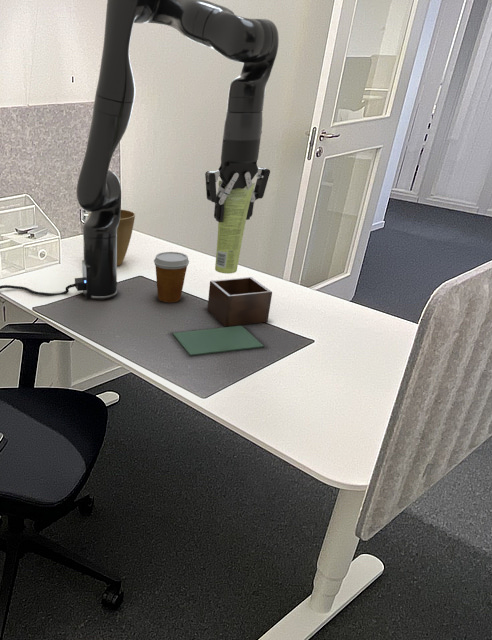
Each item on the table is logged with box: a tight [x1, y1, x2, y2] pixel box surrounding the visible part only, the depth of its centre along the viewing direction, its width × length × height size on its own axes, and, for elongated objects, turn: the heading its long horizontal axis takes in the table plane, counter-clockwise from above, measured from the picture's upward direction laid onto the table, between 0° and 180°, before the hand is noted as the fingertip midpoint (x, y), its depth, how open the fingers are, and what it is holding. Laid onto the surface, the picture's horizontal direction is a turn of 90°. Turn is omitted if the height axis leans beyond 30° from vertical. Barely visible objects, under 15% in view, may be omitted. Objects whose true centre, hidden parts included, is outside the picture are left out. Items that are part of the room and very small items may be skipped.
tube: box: [214, 180, 256, 275], centre depth 126 cm, size 6×5×20 cm
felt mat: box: [172, 325, 264, 357], centre depth 136 cm, size 18×12×1 cm, turn 102°
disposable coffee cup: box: [153, 251, 190, 303], centre depth 157 cm, size 10×10×12 cm
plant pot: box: [87, 209, 136, 267], centre depth 184 cm, size 15×15×16 cm
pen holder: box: [206, 276, 273, 327], centre depth 147 cm, size 12×12×8 cm
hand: (232, 219), depth 125 cm, fingers closed on tube, 5 cm apart
